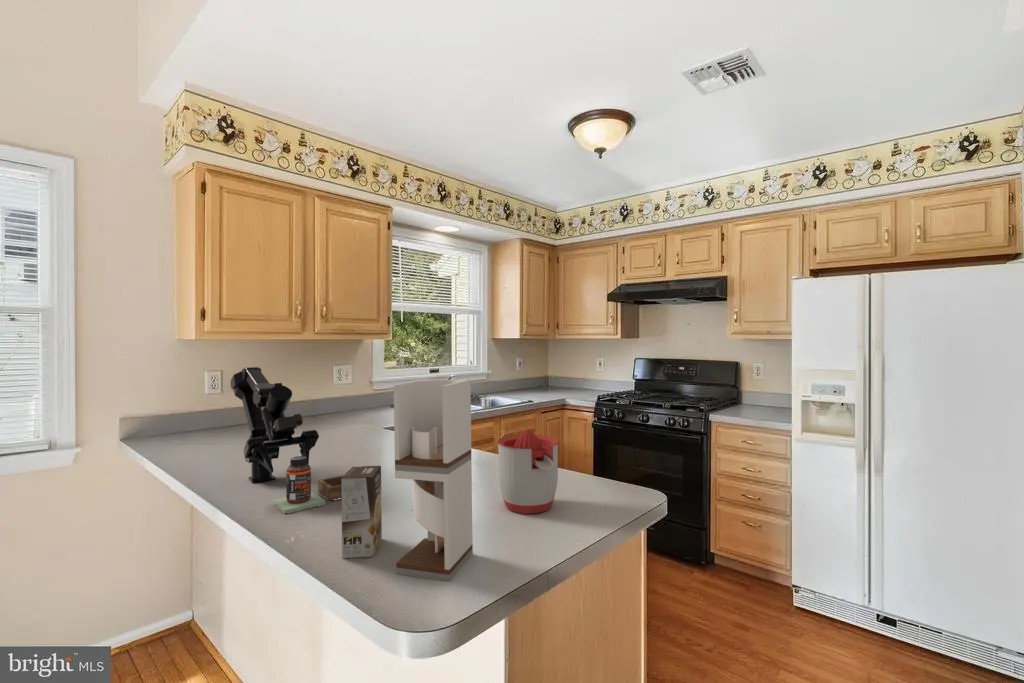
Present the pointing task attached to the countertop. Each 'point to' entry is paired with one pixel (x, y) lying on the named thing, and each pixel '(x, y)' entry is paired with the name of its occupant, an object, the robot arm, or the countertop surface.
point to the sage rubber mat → (298, 504)
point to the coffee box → (361, 511)
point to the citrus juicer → (528, 471)
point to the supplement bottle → (298, 480)
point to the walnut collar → (330, 487)
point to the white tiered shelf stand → (436, 472)
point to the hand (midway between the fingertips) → (290, 468)
